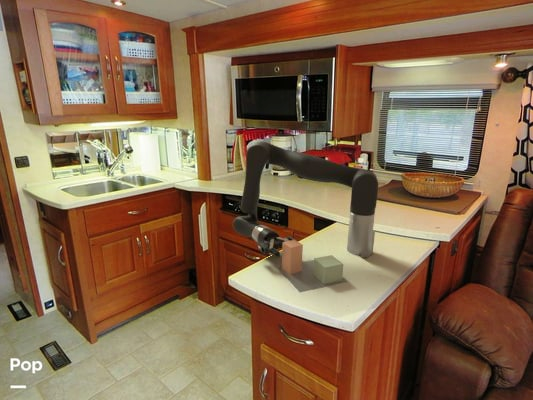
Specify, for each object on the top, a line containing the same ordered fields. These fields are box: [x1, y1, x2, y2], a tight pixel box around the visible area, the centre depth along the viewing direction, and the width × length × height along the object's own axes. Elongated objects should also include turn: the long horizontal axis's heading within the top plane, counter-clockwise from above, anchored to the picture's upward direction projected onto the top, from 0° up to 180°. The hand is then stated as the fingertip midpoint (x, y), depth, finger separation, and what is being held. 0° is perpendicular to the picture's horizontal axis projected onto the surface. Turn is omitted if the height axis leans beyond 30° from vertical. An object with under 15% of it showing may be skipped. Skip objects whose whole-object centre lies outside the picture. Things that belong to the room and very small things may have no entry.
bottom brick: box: [313, 254, 344, 284], centre depth 115 cm, size 7×7×6 cm
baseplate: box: [276, 259, 349, 293], centre depth 118 cm, size 18×18×1 cm
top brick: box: [281, 239, 304, 274], centre depth 119 cm, size 5×5×10 cm
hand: (289, 252), depth 120 cm, fingers open, 8 cm apart
